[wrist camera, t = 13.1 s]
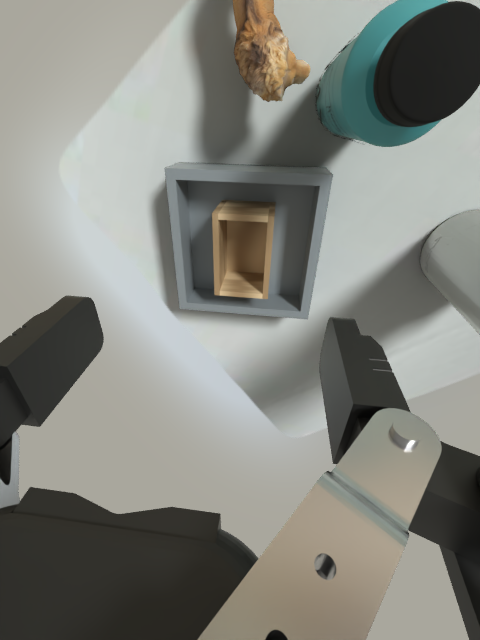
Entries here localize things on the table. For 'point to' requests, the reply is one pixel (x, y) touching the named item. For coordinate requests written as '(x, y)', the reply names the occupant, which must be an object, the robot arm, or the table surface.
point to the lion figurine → (265, 51)
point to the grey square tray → (288, 234)
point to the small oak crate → (242, 248)
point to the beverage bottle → (403, 72)
